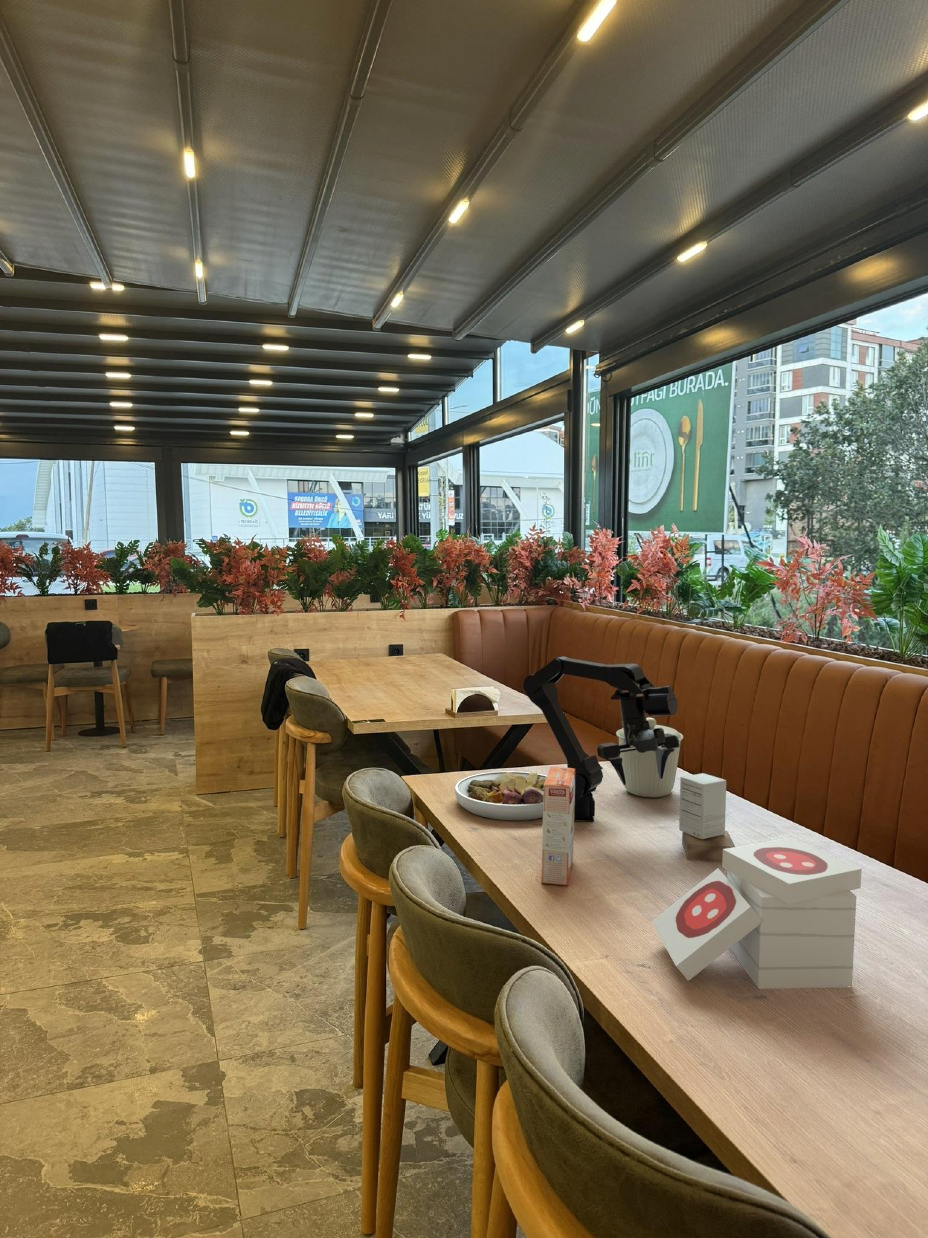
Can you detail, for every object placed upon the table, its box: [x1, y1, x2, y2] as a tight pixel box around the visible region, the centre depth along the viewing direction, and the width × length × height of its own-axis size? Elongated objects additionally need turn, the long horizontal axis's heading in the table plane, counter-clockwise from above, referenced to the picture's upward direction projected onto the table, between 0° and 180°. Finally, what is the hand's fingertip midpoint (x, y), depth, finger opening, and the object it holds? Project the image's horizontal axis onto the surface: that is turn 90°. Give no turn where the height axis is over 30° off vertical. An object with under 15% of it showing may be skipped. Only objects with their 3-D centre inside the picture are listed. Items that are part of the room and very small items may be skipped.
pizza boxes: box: [651, 836, 862, 990], centre depth 132 cm, size 19×30×18 cm, turn 92°
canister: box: [615, 717, 684, 798], centre depth 224 cm, size 18×18×21 cm
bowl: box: [454, 770, 547, 821], centre depth 214 cm, size 30×30×8 cm
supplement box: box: [678, 773, 727, 839], centre depth 183 cm, size 7×7×13 cm
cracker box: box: [541, 766, 575, 887], centre depth 169 cm, size 14×6×21 cm, turn 168°
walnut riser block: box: [681, 830, 736, 863], centre depth 181 cm, size 10×10×4 cm
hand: (642, 781), depth 193 cm, fingers open, 9 cm apart
